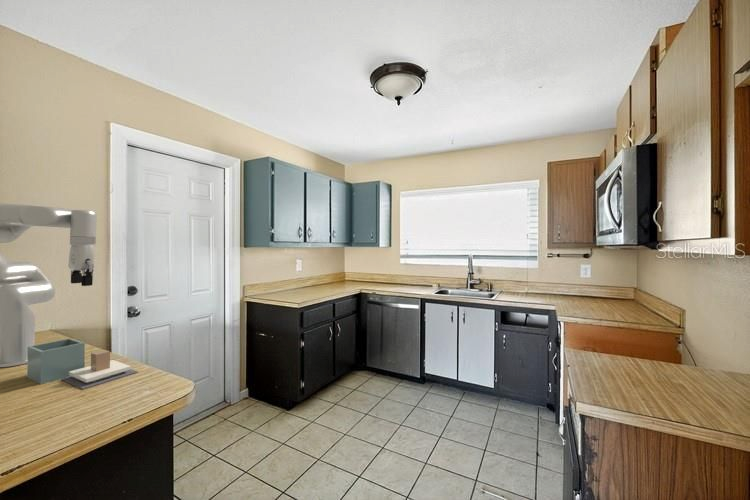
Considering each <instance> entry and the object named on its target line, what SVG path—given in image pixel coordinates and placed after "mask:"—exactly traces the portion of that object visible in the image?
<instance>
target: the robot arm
mask: <svg viewBox="0 0 750 500" xmlns="http://www.w3.org/2000/svg"><path fill="white" fill-rule="evenodd" d="M32 227H43V228H44V227H46V228H63V229H66V228H67V229H69V245H70V248H69V255H68V266H67V267H68V268H69V270H70V284H81V286H82V287H89V286H93V281H94V280H93V279H94V278H93V277H94V273H93V272H94V268H95V253H94V252H95V250H94V246H96V243H97V242H96V241H97V240H96V236H97V213H96V212H95V211H94V210H89V209H87V210H86V209H70V208H64V207H63V208H61V207H53V206H44V205H43V206H39V205H38V206H37V205H33V204H15V203H0V244H5V243H12V242H14V241H16V240H17V239H19V237H21V236H22V235H23V234H24V233H26V231H28V230H29V229H30V228H32ZM55 294H56V290H55V286H54V285H53V283H52V282H51V281H50V279H49V278H48V277H47V276H46V274H44V272H43V271H42V270H41V269H40V267H38V266H37V265H36V264H35V263H32V262H29V261H25V260H24V261H23V260H22V261H21V260H20V261H12V260H8V259H7V258H6V257H5V256H4V255H3V254H2V252H0V368H8V367H15V366H21V365H25V364H28V346H33V345H36V336H35V335H36V324H35V323H36V320H35V318H36V317H35V313H34V312H33V310H32V309H31V308H30V307H29V306H31V305H37V304H42V303H46V302H48V301H50V300H53V298H54V297H55Z"/></svg>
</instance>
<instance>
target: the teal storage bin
mask: <svg viewBox="0 0 750 500" xmlns="http://www.w3.org/2000/svg"><path fill="white" fill-rule="evenodd" d="M85 345H86V344H85V342H83V341H80V340H77V339H73V338H70V337H69V338H66V339H61V340H54V341H48V342H45V343H44V342H43V343H39V344H35V345H33V346H28V363H27V378H28V379H30V380H32V381H34V382H36V383H38V384H39V385H43V384H47V383H51V382H54V381H58V380H62V378H65V377H69V376H70V375H69V371H73V370H77V369H81V368H84V367H86V366H85V359H86V357H85V354H86V353H85Z"/></svg>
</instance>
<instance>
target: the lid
mask: <svg viewBox="0 0 750 500" xmlns="http://www.w3.org/2000/svg"><path fill="white" fill-rule="evenodd" d="M130 369H132V366H131V365H129V364H125V363H123V362H120V361H117V360H114V359H111V351H110V350H106V349H103V350H102V349H101V350H99V351H93V352H91V353H90V365H89V366H88V365H87V366H85V367H84V368H81V369H77V370H73V371H69V375H70V376H72V377H74V378H77V379H79V380H81V381H84V382H86V383H87V382H93V381H97V380H100V379H103V378H107V377H110V376H113V375H117V374H120V373H122V372H124V371H127V370H130Z"/></svg>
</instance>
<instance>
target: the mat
mask: <svg viewBox="0 0 750 500" xmlns="http://www.w3.org/2000/svg"><path fill="white" fill-rule="evenodd" d="M137 373H139V371H138V370H135V369H133V368H131V369H130V370H127V371H124V372H122V373H120V374H117V375H113V376H110V377H107V378H103V379H100V380H97V381H93V382H87V383H86V382H84V381H81V380H79V379H77V378H74V377H72V376H69V377H65V378H62V379H61V381H63V382H66V383H67V384H70V385H72V386H75V388H76V387H77V388H78V389H81V390H83V391H84V390H87V389H89V388H93V387H96V386H99V385H102V384H105V383H106V384H107V383H108V382H112V381H115V380H118V379H122V378H124V377H128V376H132V375H134V374H137Z"/></svg>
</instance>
